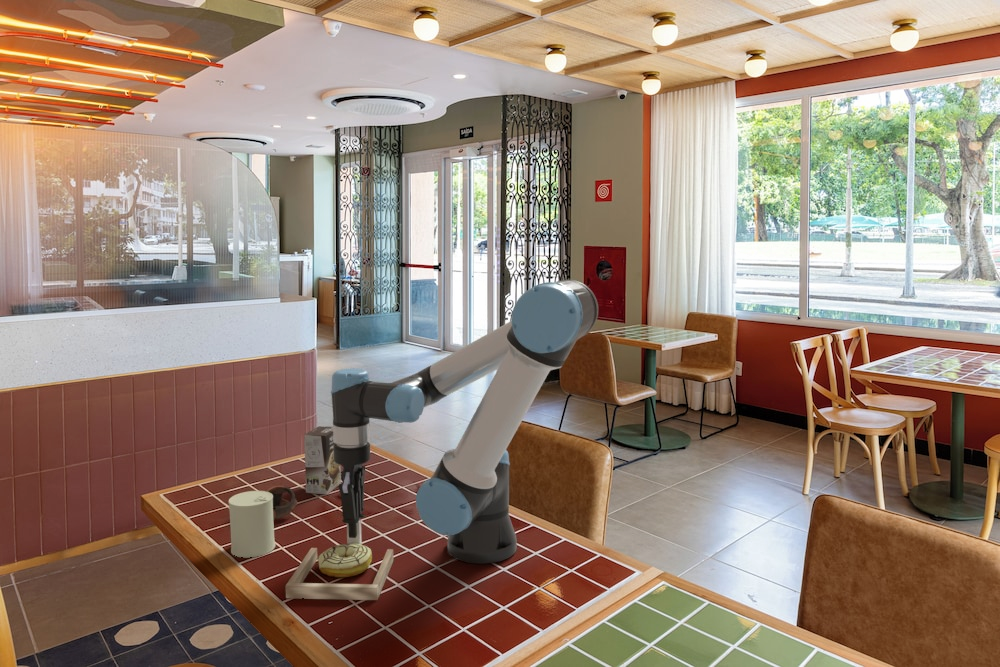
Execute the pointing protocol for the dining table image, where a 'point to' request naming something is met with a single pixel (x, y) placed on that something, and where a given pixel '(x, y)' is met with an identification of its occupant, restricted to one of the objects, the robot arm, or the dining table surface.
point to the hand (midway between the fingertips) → (354, 549)
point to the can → (251, 524)
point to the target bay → (336, 590)
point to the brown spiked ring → (282, 501)
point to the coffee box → (321, 461)
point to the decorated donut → (345, 560)
